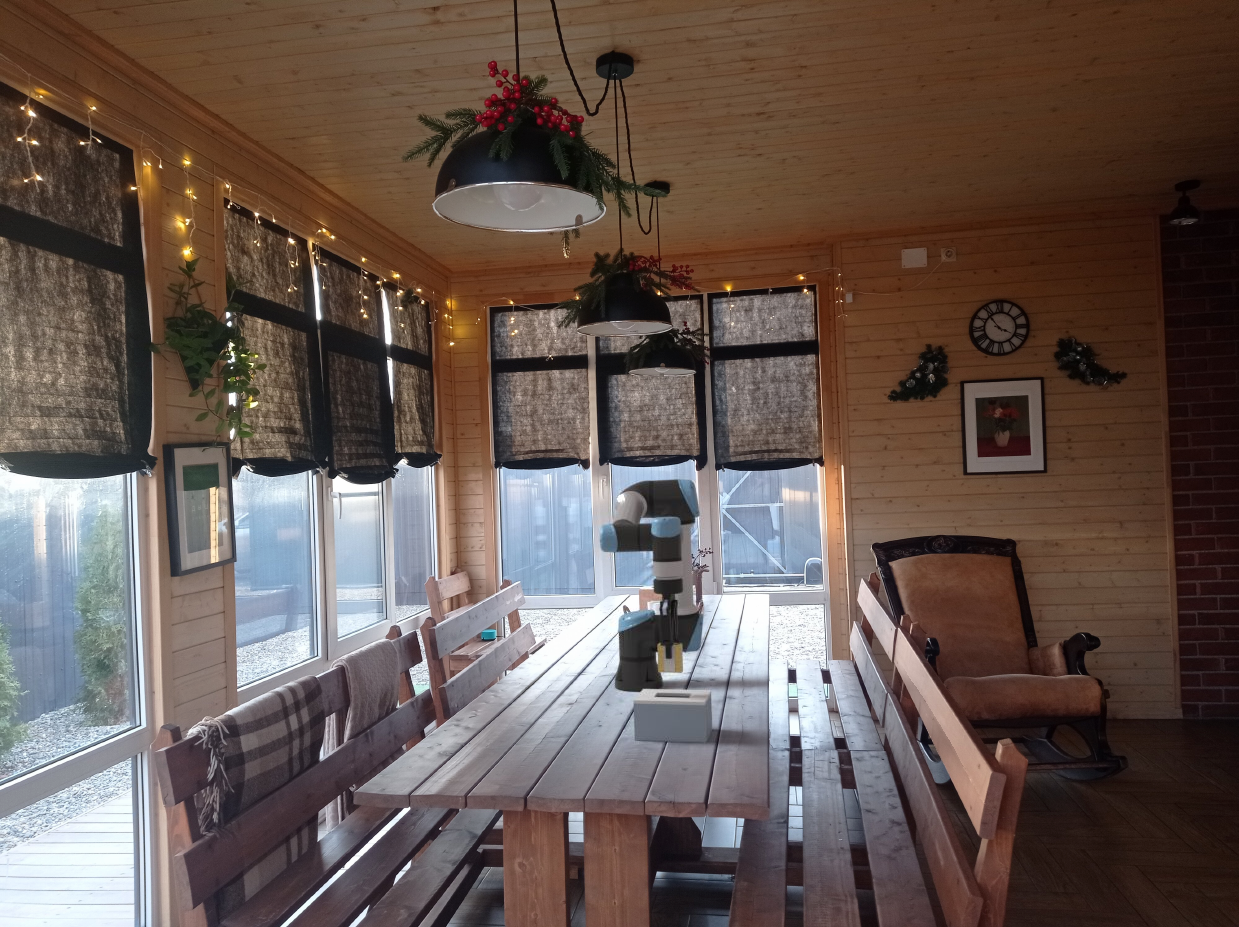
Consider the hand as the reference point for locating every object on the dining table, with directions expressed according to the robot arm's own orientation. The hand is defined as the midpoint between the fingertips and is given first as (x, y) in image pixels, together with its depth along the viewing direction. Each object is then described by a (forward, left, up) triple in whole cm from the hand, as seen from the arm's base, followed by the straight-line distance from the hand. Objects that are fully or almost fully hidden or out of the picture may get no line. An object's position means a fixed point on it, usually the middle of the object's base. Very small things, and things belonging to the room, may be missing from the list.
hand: (671, 669), depth 234 cm
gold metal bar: (0, 0, -1) cm, 1 cm away
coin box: (0, 0, -17) cm, 17 cm away
